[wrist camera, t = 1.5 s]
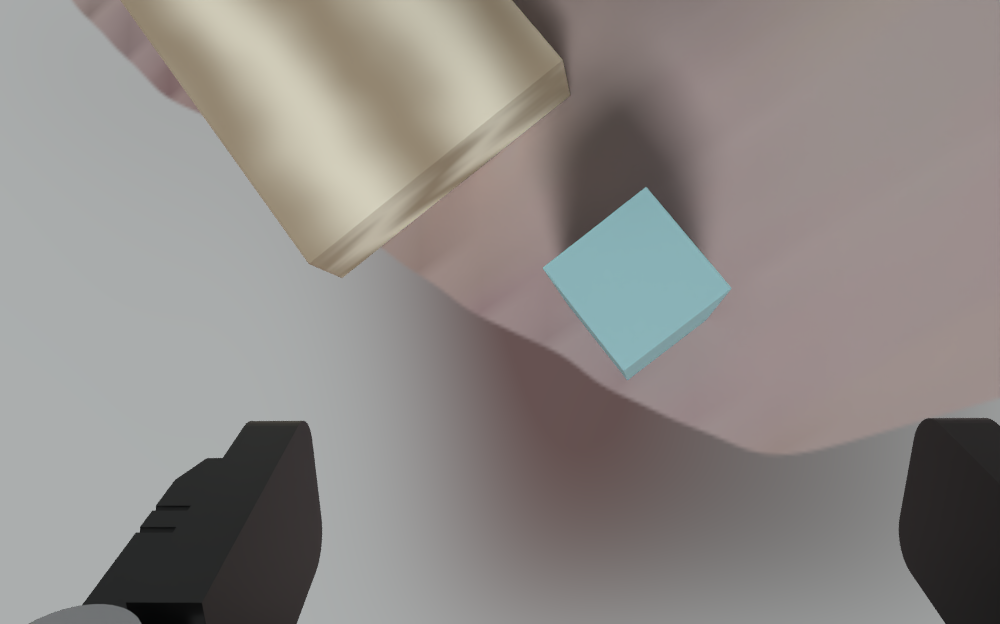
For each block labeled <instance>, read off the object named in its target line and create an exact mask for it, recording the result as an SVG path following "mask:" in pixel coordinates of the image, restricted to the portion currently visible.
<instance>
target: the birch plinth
mask: <svg viewBox="0 0 1000 624" xmlns="http://www.w3.org/2000/svg"><path fill="white" fill-rule="evenodd" d="M121 2H122V3H123V5H124V6H125V7H126V9H127V10H128V12H129V13H130V14H131V16H132V17H133V19H134V20H135V21H136V23H137V24H138V26H139V27H140V28H141V30H142V31H143V33H144V34H145V35H146V37H147V38H148V40H149V41H150V42H151V44H152V45H153V47H154V48H155V49H156V51H157V52H158V54H159V55H160V56H161V58H162V59H163V61H164V62H165V63H166V65H167V66H168V68H169V69H170V70H171V72H172V73H173V75H174V76H175V77H176V79H177V80H178V82H179V83H180V84H181V86H182V87H183V89H184V90H185V91H186V93H187V94H188V96H189V97H190V98H191V100H192V101H193V103H194V104H195V105H196V107H197V108H198V110H199V111H200V112H201V114H202V115H203V117H204V118H205V119H206V121H207V122H208V123H209V125H210V126H211V128H212V129H213V130H214V132H215V133H216V135H217V136H218V137H219V139H220V140H221V142H222V143H223V144H224V146H225V147H226V149H227V150H228V151H229V153H230V154H231V155H232V157H233V158H234V160H235V161H236V162H237V164H238V165H239V167H240V168H241V170H242V171H243V172H244V174H245V175H246V177H247V178H248V179H249V181H250V182H251V184H252V185H253V186H254V188H255V189H256V190H257V192H258V193H259V195H260V196H261V198H262V199H263V200H264V202H265V203H266V205H267V206H268V207H269V209H270V210H271V212H272V213H273V214H274V216H275V217H276V218H277V220H278V221H279V223H280V224H281V226H282V227H283V228H284V230H285V231H286V232H287V234H288V235H289V237H290V238H291V239H292V241H293V242H294V244H295V245H296V246H297V248H298V249H299V250H300V252H301V254H302V255H303V256H304V257H305V259H306V261H307V262H308V263H309V264H310V265H313V266H315V267H317V268H320V269H322V270H324V271H327V272H329V273H331V274H334V275H336V276H338V277H341V278H343V277H344V276H345V275H346V274H347V273H349V272H350V271H351V270H353V269H354V268H355V267H356V266H358V265H359V264H360V263H361V262H363V261H364V260H365V259H366V258H368V257H369V256H370V255H371V254H373V253H374V252H375V251H376V250H378V249H379V248H380V247H381V246H383V245H384V244H385V243H386V242H388V241H389V240H390V239H391V238H393V237H394V236H395V235H396V234H398V233H399V232H400V231H401V230H403V229H404V228H405V227H406V226H408V225H409V224H410V223H411V222H413V221H414V220H415V219H416V218H418V217H419V216H420V215H421V214H423V213H424V212H425V211H426V210H428V209H429V208H430V207H431V206H433V205H434V204H435V203H436V202H438V201H439V200H440V199H441V198H443V197H444V196H445V195H447V194H448V193H449V192H450V191H452V190H453V189H454V188H455V187H457V186H458V185H459V184H460V183H462V182H463V181H464V180H465V179H467V178H468V177H469V176H470V175H472V174H473V173H474V172H475V171H477V170H478V169H479V168H480V167H482V166H483V165H484V164H485V163H487V162H488V161H489V160H490V159H492V158H493V157H494V156H495V155H497V154H498V153H499V152H500V151H502V150H503V149H504V148H505V147H507V146H508V145H509V144H510V143H512V142H513V141H514V140H515V139H517V138H518V137H519V136H520V135H522V134H523V133H524V132H525V131H527V130H528V129H529V128H530V127H532V126H533V125H534V124H535V123H537V122H538V121H539V120H540V119H542V118H543V117H544V116H545V115H547V114H548V113H549V112H550V111H552V110H553V109H554V108H555V107H557V106H558V105H559V104H560V103H562V102H563V101H564V100H565V99H567V98H568V97H569V96H570V91H569V87H568V82H567V78H566V73H565V68H564V64H563V60H562V59H561V57H560V56H559V55H558V54H557V53H556V52H555V50H554V49H553V48H552V47H551V46H550V44H549V43H548V42H547V41H546V40H545V39H544V37H543V36H542V35H541V34H540V33H539V31H538V30H537V29H536V28H535V27H534V26H533V24H532V23H531V22H530V21H529V20H528V19H527V17H526V16H525V15H524V14H523V13H522V11H521V10H520V9H519V8H518V7H517V6H516V4H515V3H514V2H513V1H512V0H121Z"/></svg>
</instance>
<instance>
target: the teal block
mask: <svg viewBox="0 0 1000 624" xmlns="http://www.w3.org/2000/svg"><path fill="white" fill-rule="evenodd" d="M543 269H544V271H545V272H546V274H547V275H548V277H549V278H550V279H551V281H552V282H553V284H554V285H555V287H556V288H557V290H558V291H559V292H560V294H561V295H562V297H563V298H564V300H565V301H566V303H567V304H568V305H569V307H570V308H571V309H572V310H573V312H574V313H575V314H576V316H577V317H578V318H579V319H580V321H581V322H582V323H583V324H584V326H585V327H586V328H587V330H588V331H589V332H590V333H591V335H592V336H593V337H594V338H595V340H596V341H597V342H598V344H599V345H600V346H601V347H602V349H603V350H604V351H605V352H606V354H607V355H608V356H609V358H610V359H611V360H612V361H613V363H614V364H615V365H616V366H617V368H618V369H619V370H620V372H621V373H622V374H623V375H624V377H625V378H626V379H627V380H629V379H630V378H631V377H632V376H634V375H635V374H636V373H638V372H639V371H640V370H642V369H643V368H644V367H646V366H647V365H648V364H649V363H651V362H652V361H653V360H655V359H656V358H657V357H659V356H660V355H661V354H662V353H664V352H665V351H666V350H668V349H669V348H670V347H672V346H673V345H674V344H676V343H677V342H678V341H679V340H681V339H682V338H683V337H685V336H686V335H687V334H689V333H690V332H691V331H692V330H694V329H695V328H696V327H698V326H699V325H700V324H702V323H703V322H704V321H706V319H707V318H708V317H709V316H710V314H711V313H712V312H713V311H714V309H715V308H716V307H717V306H718V305H719V303H720V302H721V301H722V300H723V298H724V297H725V296H726V295H727V293H728V292H729V291H730V290H731V287H730V286H729V285H728V284H727V282H726V281H725V280H724V279H723V278H722V276H721V275H720V274H719V273H718V272H717V270H716V269H715V268H714V267H713V266H712V265H711V263H710V262H709V261H708V260H707V259H706V257H705V256H704V255H703V254H702V253H701V251H700V250H699V249H698V248H697V247H696V245H695V244H694V243H693V242H692V241H691V240H690V238H689V237H688V236H687V235H686V234H685V232H684V231H683V230H682V229H681V228H680V226H679V225H678V224H677V223H676V222H675V220H674V219H673V218H672V217H671V216H670V215H669V213H668V212H667V211H666V210H665V209H664V207H663V206H662V205H661V204H660V203H659V201H658V200H657V199H656V198H655V197H654V196H653V194H652V193H651V192H650V191H649V190H648V188H647V187H645V188H644V189H643V190H641V191H640V192H639V193H637V194H636V195H635V196H634V197H632V198H631V199H630V200H629V201H627V202H626V203H625V204H623V205H622V206H621V207H620V208H618V209H617V210H616V211H615V212H613V213H612V214H611V215H609V216H608V217H607V218H606V219H604V220H603V221H602V222H600V223H599V224H598V225H597V226H595V227H594V228H593V229H592V230H590V231H589V232H588V233H586V234H585V235H584V236H583V237H581V238H580V239H579V240H578V241H576V242H575V243H574V244H572V245H571V246H570V247H569V248H567V249H566V250H565V251H564V252H562V253H561V254H560V255H558V256H557V257H556V258H555V259H553V260H552V261H551V262H549V263H548V264H547V265H546V266H544V267H543Z"/></svg>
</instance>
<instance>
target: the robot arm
mask: <svg viewBox="0 0 1000 624" xmlns="http://www.w3.org/2000/svg"><path fill="white" fill-rule="evenodd" d="M899 538H900V546H901V551H902V554H903V557H904V560H905V563H906V565H907V567H908V569H909V571H910V572H911V574H912V575H913V577H914V578H915V580H916V581H917V583H918V584H919V585H920V587H921V588H922V590H923V591H924V593H925V594H926V596H927V597H928V599H929V600H930V602H931V603H932V604H933V606H934V607H935V609H936V610H937V612H938V613H939V615H940V616H941V618H942V619H943V621H944V622H945V624H1000V426H999V425H998V424H997V423H996V422H994V421H993V420H991V419H988V418H928V419H925V420H923V421H922V422H921V423H920V424H919V426H918V428H917V430H916V433H915V437H914V442H913V447H912V453H911V458H910V464H909V470H908V475H907V481H906V486H905V492H904V497H903V503H902V508H901V515H900V520H899ZM321 543H322V520H321V511H320V502H319V494H318V487H317V478H316V469H315V460H314V452H313V444H312V436H311V432H310V428H309V426H308V424H307V423H306V422H305V421H250V422H248V423H246V425H245V426H244V427H243V429H242V430H241V432H240V433H239V435H238V436H237V438H236V439H235V441H234V442H233V444H232V445H231V447H230V448H229V450H228V451H227V453H226V454H225V456H224V457H223V458H207V459H205V460H204V461H202V462H201V463H199V464H198V465H196V466H195V467H193V468H192V469H191V470H189V471H188V472H186V473H185V474H183V475H182V476H180V477H179V478H177V479H176V480H175V481H174V482H173V484H172V485H171V486H170V488H169V489H168V490H167V492H166V493H165V494H164V496H163V497H162V499H161V500H160V501H159V502H158V504H157V505H156V511H152V512H151V513H150V515H149V516H148V517H147V519H146V520H145V521H144V523H143V524H142V525H141V527H140V533H135V535H134V536H133V538H132V539H131V540H130V541H129V543H128V544H127V546H126V547H125V548H124V549H123V551H122V552H121V554H120V555H119V557H118V558H117V559H116V560H115V562H114V563H113V564H112V566H111V567H110V568H109V570H108V571H107V572H106V574H105V575H104V576H103V578H102V579H101V580H100V582H99V583H98V584H97V586H96V587H95V589H94V590H93V591H92V593H91V594H90V595H89V597H88V598H87V600H86V601H85V602H84V603H83V605H82V606H76V607H71V608H67V609H63V610H60V611H57V612H54V613H51V614H49V615H47V616H44V617H42V618H40V619H37V620H35V621H33V622H31V623H29V624H297V621H298V618H299V615H300V613H301V610H302V608H303V605H304V602H305V599H306V597H307V594H308V591H309V589H310V586H311V583H312V581H313V578H314V575H315V573H316V569H317V566H318V563H319V558H320V552H321Z"/></svg>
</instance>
